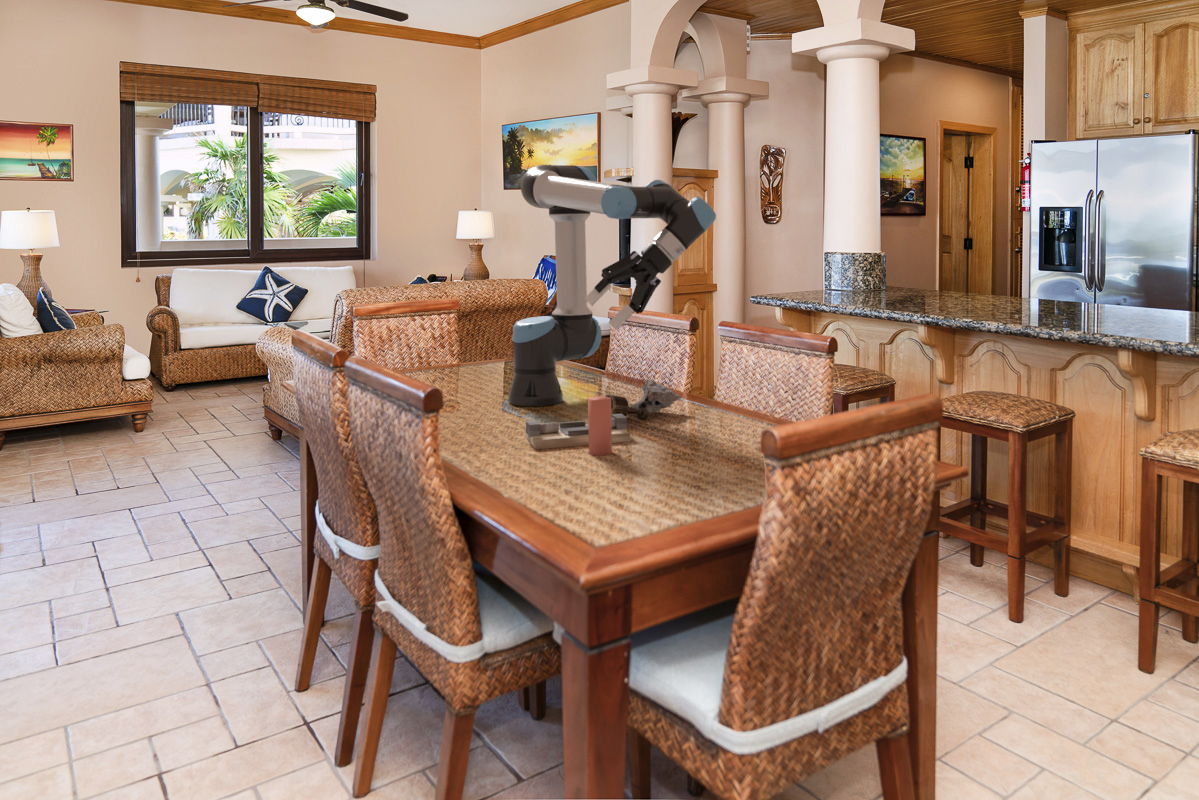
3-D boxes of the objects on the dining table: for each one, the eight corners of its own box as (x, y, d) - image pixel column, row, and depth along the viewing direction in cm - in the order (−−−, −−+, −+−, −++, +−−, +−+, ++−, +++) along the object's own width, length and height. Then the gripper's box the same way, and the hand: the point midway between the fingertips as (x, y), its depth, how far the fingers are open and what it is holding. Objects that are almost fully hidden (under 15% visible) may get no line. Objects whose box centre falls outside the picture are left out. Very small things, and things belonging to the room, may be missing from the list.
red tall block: (584, 452, 197) (583, 398, 195) (601, 448, 200) (600, 395, 198) (599, 456, 193) (598, 401, 191) (616, 452, 196) (615, 398, 194)
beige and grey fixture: (523, 437, 212) (522, 417, 211) (617, 429, 218) (616, 410, 217) (533, 449, 200) (532, 428, 199) (632, 441, 206) (631, 420, 205)
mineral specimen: (645, 427, 240) (661, 431, 229) (619, 405, 238) (634, 409, 227) (670, 394, 242) (687, 396, 231) (645, 372, 239) (660, 374, 228)
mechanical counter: (595, 396, 231) (598, 395, 221) (644, 390, 232) (649, 388, 222) (598, 424, 231) (602, 424, 221) (647, 417, 232) (653, 417, 222)
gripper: (652, 234, 205) (586, 300, 207) (689, 283, 226) (629, 343, 228) (632, 217, 209) (568, 282, 211) (671, 267, 230) (612, 326, 232)
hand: (600, 314), depth 219 cm, fingers open, 13 cm apart
